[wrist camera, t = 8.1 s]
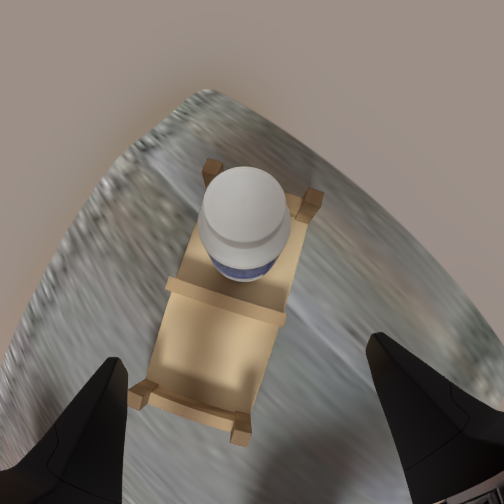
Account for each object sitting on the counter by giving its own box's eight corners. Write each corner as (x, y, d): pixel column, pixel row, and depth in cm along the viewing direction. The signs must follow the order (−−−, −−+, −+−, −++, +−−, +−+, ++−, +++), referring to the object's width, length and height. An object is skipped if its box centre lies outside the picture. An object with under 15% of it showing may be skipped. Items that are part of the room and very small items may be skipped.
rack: (308, 215, 24) (323, 192, 19) (245, 421, 20) (246, 447, 15) (213, 187, 24) (207, 158, 20) (146, 388, 20) (124, 404, 15)
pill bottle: (279, 280, 22) (308, 253, 12) (212, 284, 21) (188, 261, 12) (273, 216, 23) (293, 152, 13) (209, 220, 23) (189, 157, 13)
